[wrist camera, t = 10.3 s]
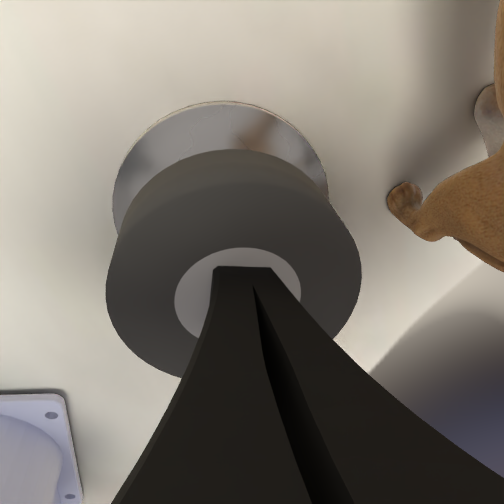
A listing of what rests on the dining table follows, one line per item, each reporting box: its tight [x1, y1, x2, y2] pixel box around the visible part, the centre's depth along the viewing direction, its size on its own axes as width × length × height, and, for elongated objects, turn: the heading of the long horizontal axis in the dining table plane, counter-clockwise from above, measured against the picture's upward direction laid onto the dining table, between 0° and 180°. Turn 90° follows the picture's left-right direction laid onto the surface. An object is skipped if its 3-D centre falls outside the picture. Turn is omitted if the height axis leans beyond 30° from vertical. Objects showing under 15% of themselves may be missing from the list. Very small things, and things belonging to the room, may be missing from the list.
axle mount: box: [113, 101, 329, 235], centre depth 12 cm, size 7×7×2 cm
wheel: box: [106, 149, 362, 378], centre depth 10 cm, size 6×6×2 cm
